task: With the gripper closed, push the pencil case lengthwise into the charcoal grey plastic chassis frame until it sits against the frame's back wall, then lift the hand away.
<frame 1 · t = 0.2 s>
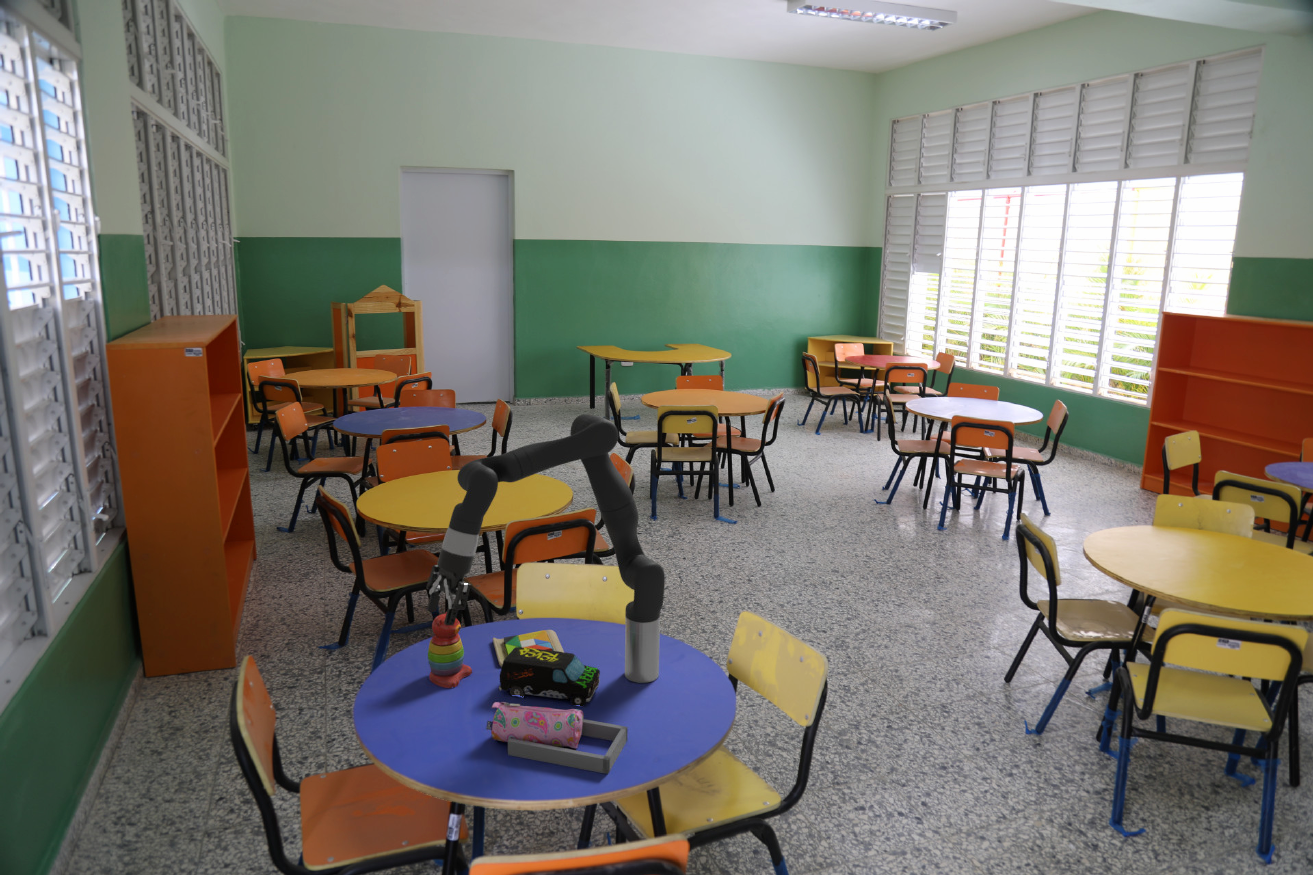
hand: (439, 617, 193), 30 cm above the table, tool tilted 20°, fingers open, 8 cm apart
wooden puzzle: (528, 652, 243), on the table
stacking bear: (448, 677, 227), on the table
pencil case: (536, 742, 198), on the table
toy van: (550, 692, 221), on the table
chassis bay: (568, 747, 196), on the table
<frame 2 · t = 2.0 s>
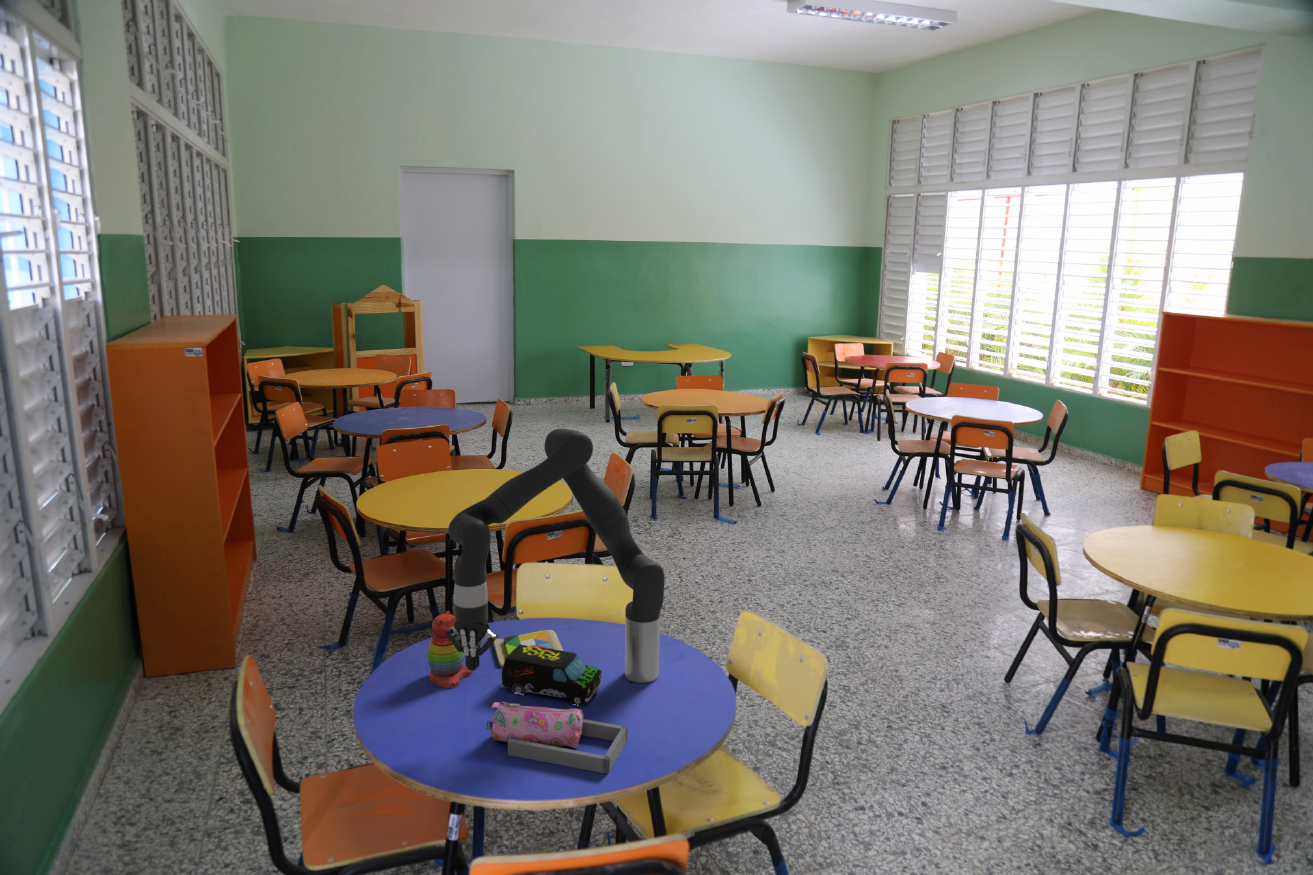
hand: (472, 668, 199), 16 cm above the table, tool pointing down, fingers closed
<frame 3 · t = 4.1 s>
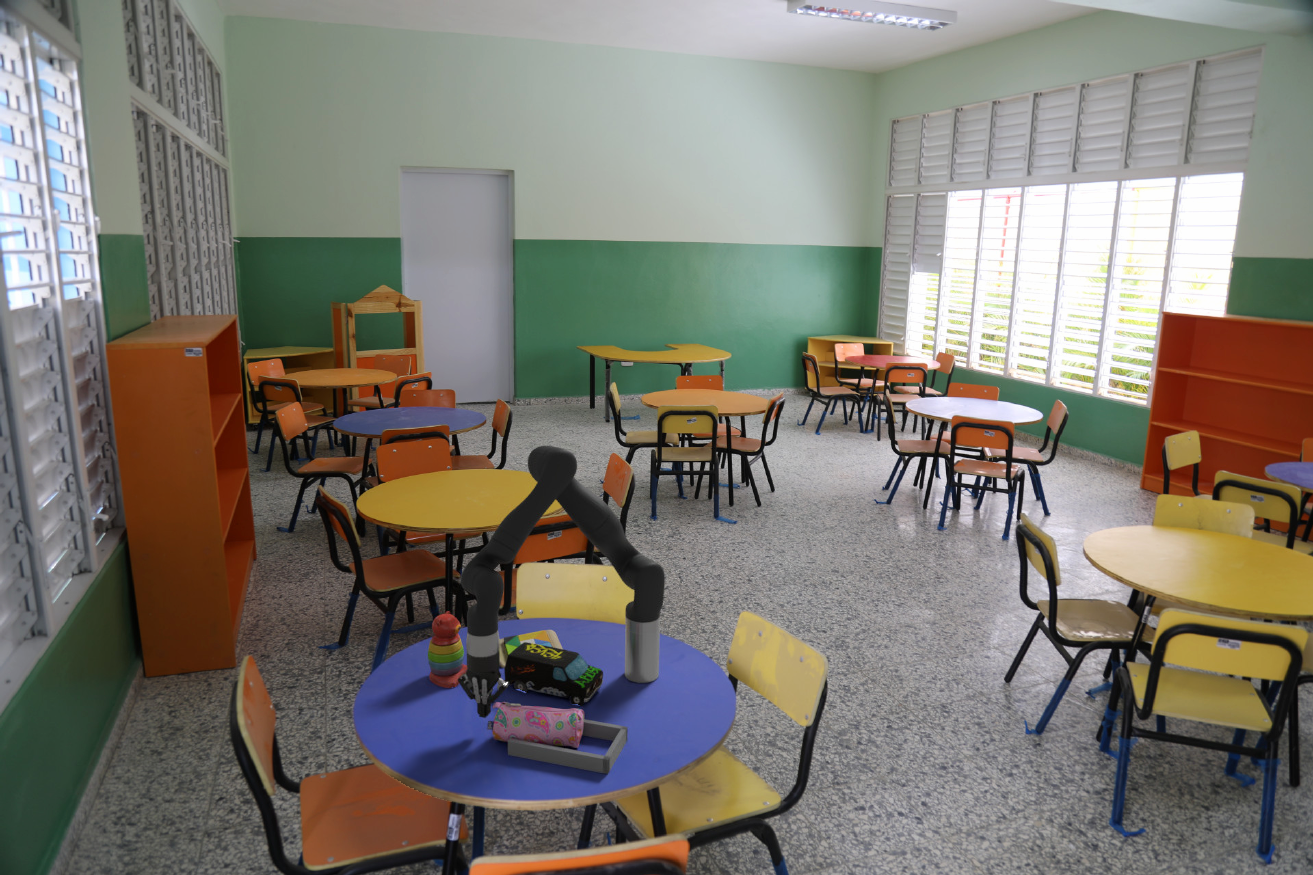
hand: (484, 715, 201), 4 cm above the table, tool pointing down, fingers closed
pencil case: (537, 742, 198), on the table, touching gripper
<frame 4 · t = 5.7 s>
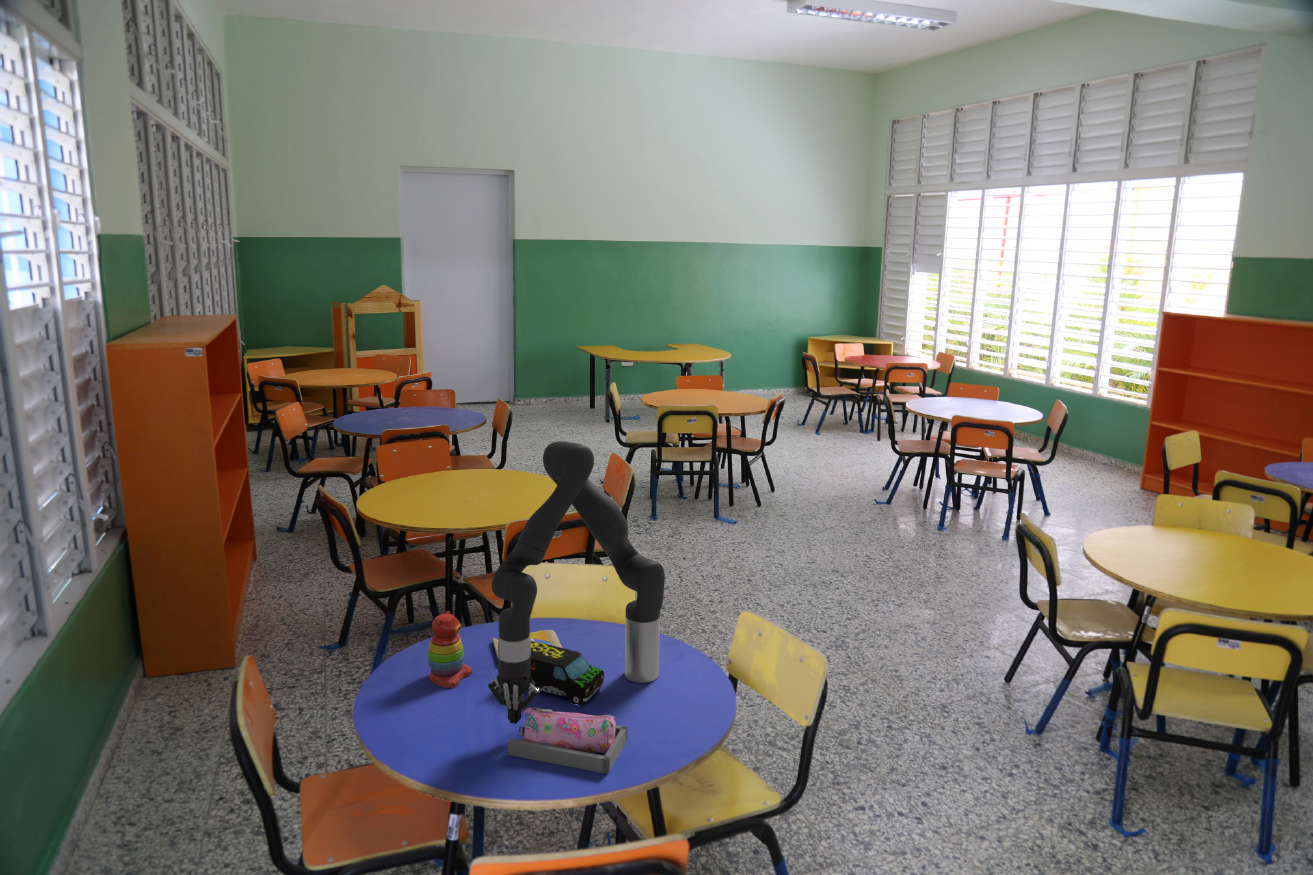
hand: (514, 721, 199), 4 cm above the table, tool pointing down, fingers closed
pencil case: (569, 748, 196), on the table, touching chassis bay, gripper
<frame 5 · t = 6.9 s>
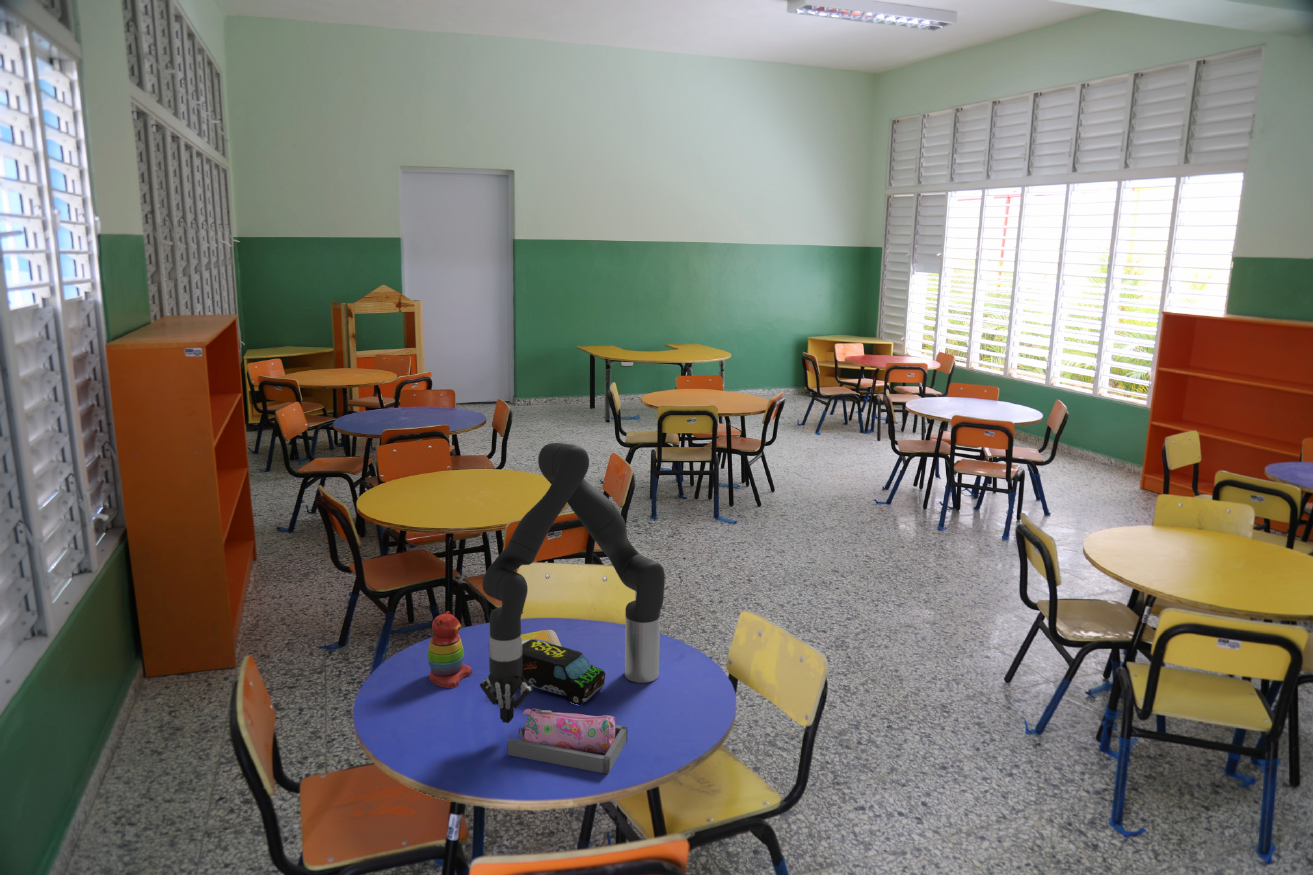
hand: (506, 720, 199), 4 cm above the table, tool pointing down, fingers closed
pencil case: (568, 749, 196), on the table
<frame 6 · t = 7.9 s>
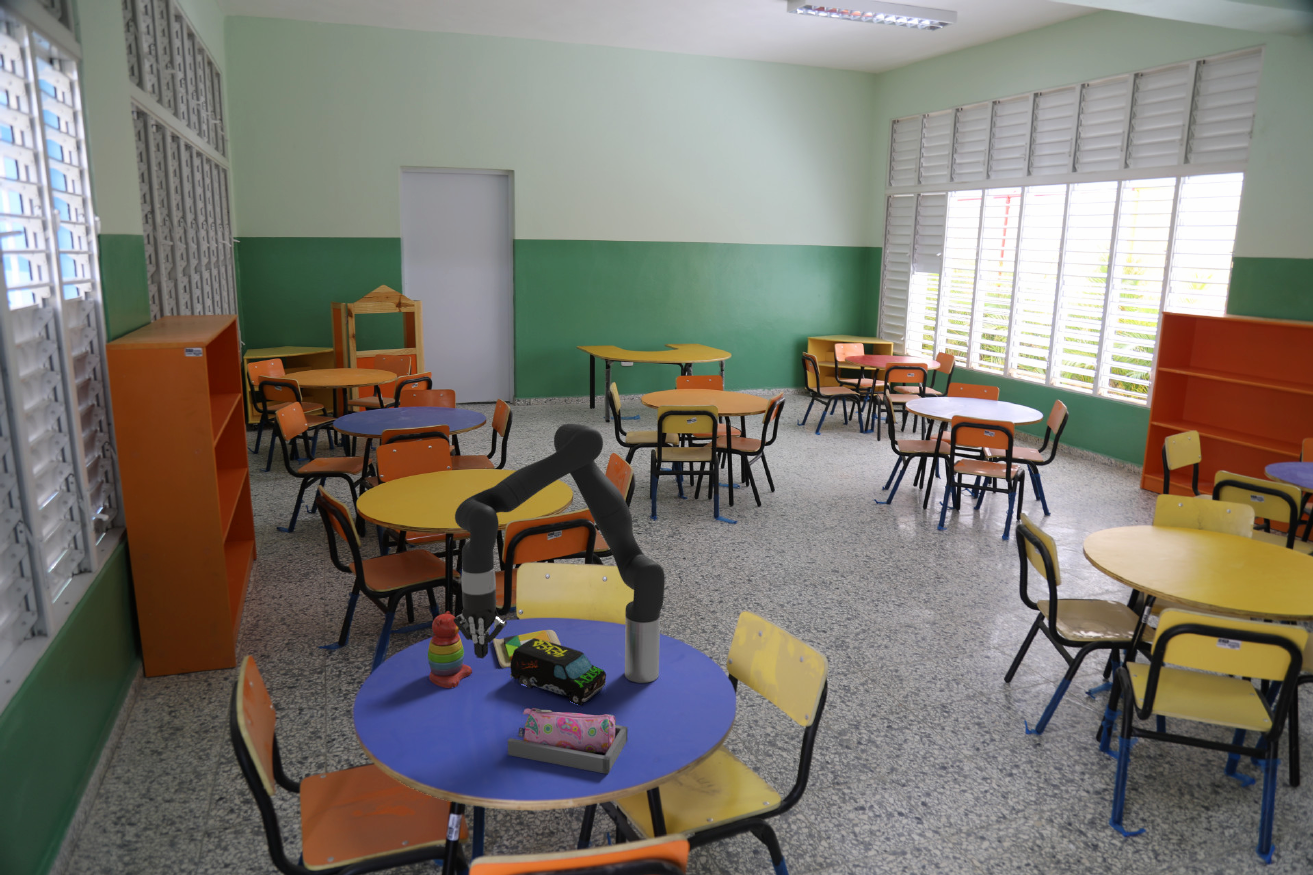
hand: (481, 656, 197), 19 cm above the table, tool pointing down, fingers closed
pencil case: (568, 748, 196), on the table, touching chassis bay
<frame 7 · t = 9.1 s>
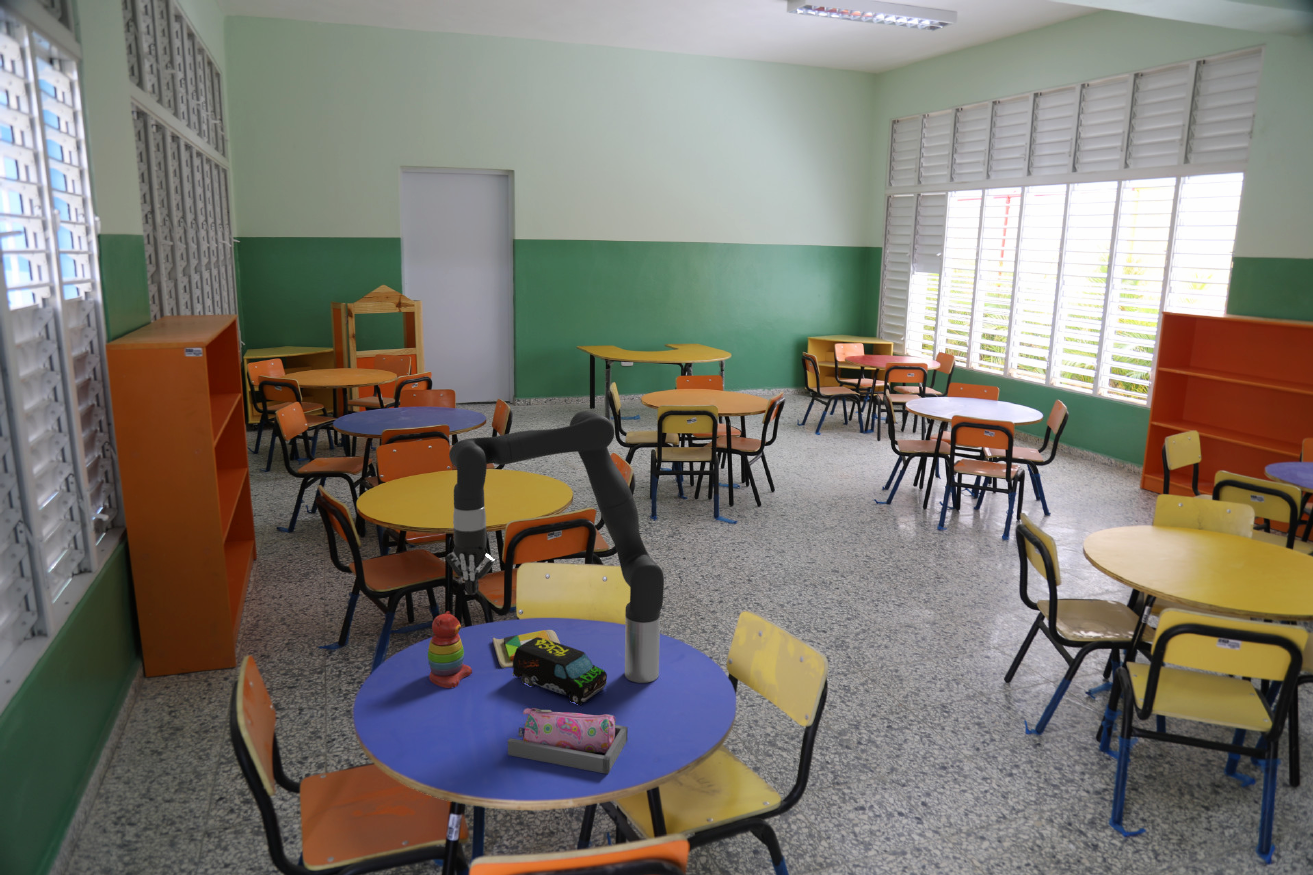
hand: (471, 593, 204), 31 cm above the table, tool pointing down, fingers closed
pencil case: (568, 748, 196), on the table
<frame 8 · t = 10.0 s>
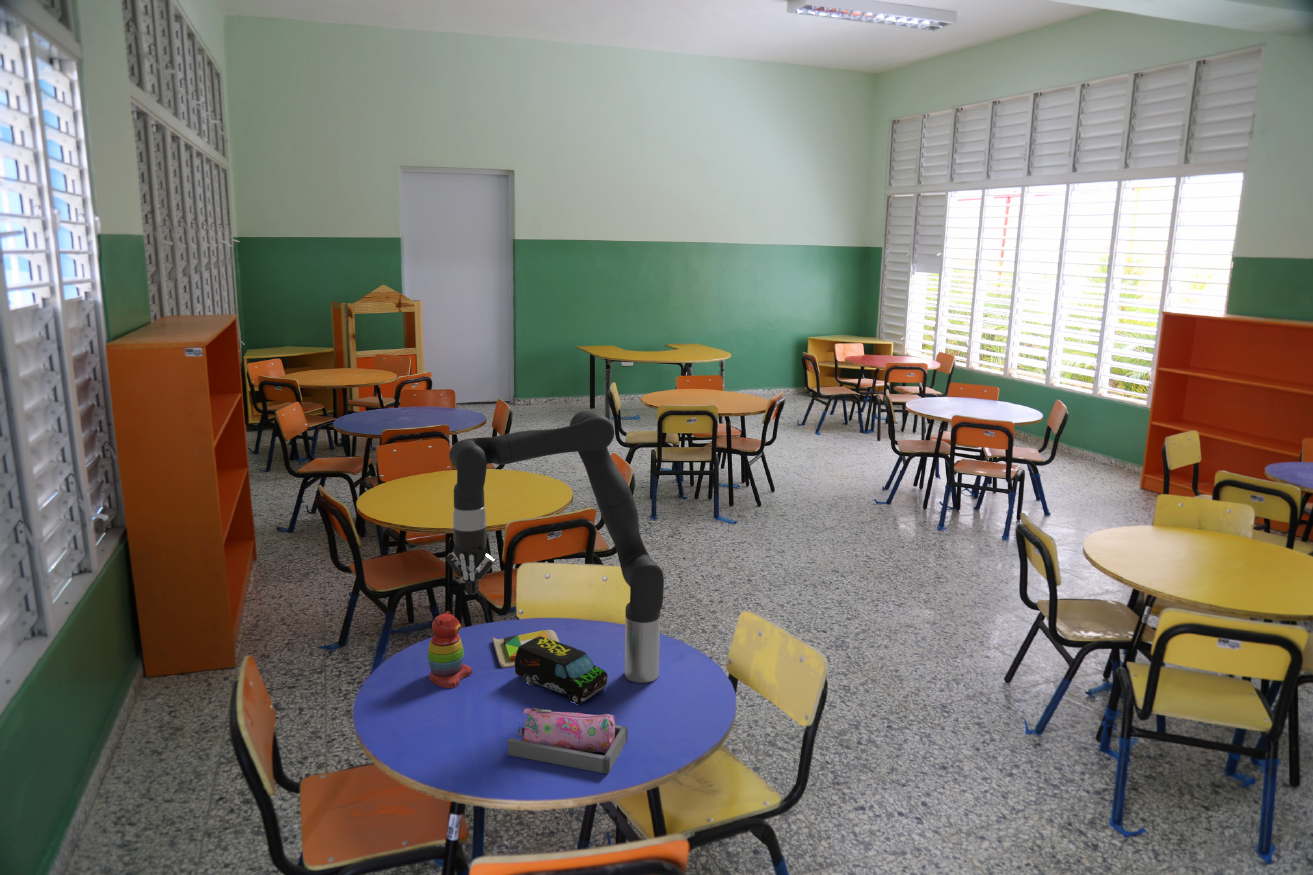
hand: (471, 593, 204), 31 cm above the table, tool pointing down, fingers closed
at the end: pencil case 0.4 cm off-centre on the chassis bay, point 0.0 cm above the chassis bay's base; pencil case tilted 0° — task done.
